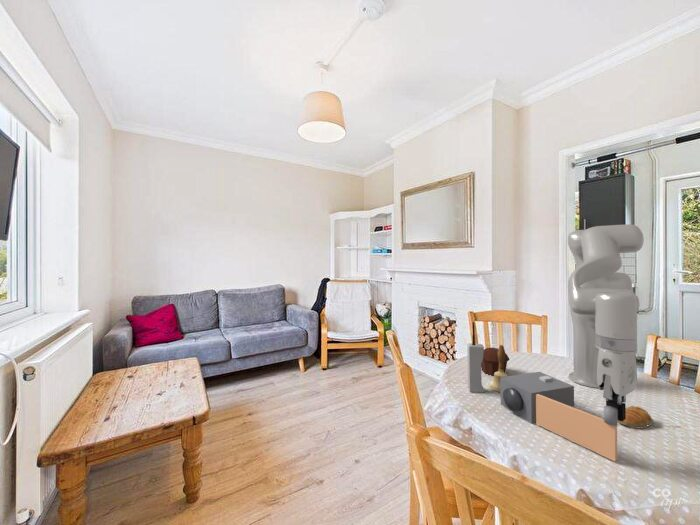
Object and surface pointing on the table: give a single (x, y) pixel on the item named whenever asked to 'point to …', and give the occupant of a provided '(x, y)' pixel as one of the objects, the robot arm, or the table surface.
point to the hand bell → (499, 371)
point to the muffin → (492, 361)
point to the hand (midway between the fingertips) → (615, 417)
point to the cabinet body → (533, 393)
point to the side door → (580, 425)
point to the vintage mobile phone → (475, 365)
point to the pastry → (636, 417)
